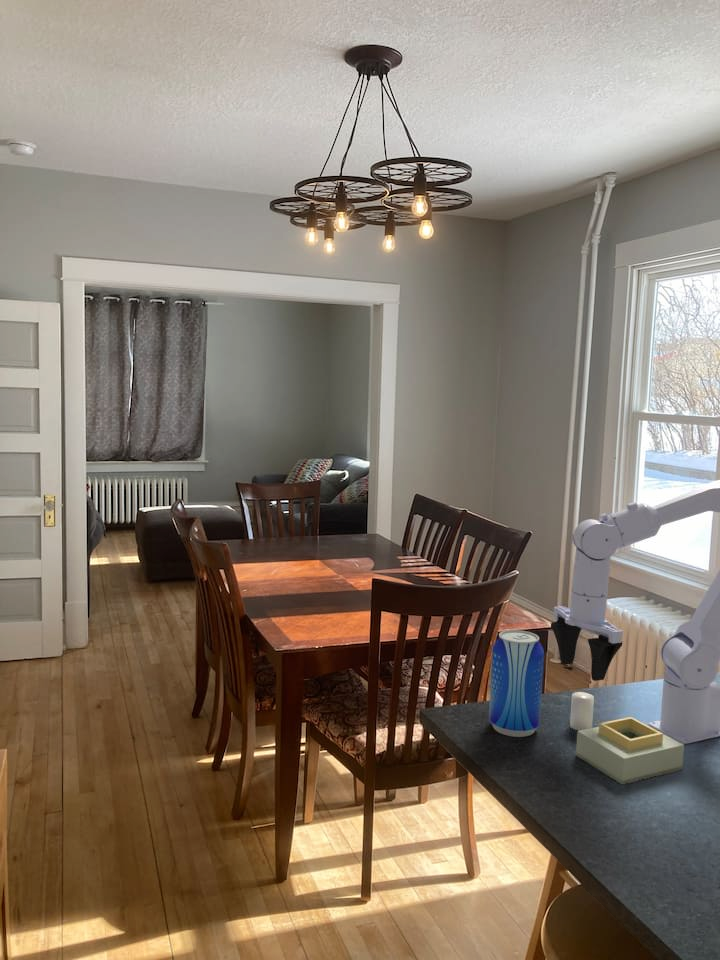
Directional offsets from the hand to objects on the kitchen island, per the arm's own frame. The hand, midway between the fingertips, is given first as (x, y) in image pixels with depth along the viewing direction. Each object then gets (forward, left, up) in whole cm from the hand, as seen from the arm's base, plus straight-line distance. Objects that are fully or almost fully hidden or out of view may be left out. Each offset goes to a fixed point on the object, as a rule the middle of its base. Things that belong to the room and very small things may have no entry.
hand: (581, 671), depth 135 cm
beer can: (+10, -4, -10) cm, 15 cm away
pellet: (-1, 0, -10) cm, 10 cm away
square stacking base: (+1, +13, -10) cm, 16 cm away
